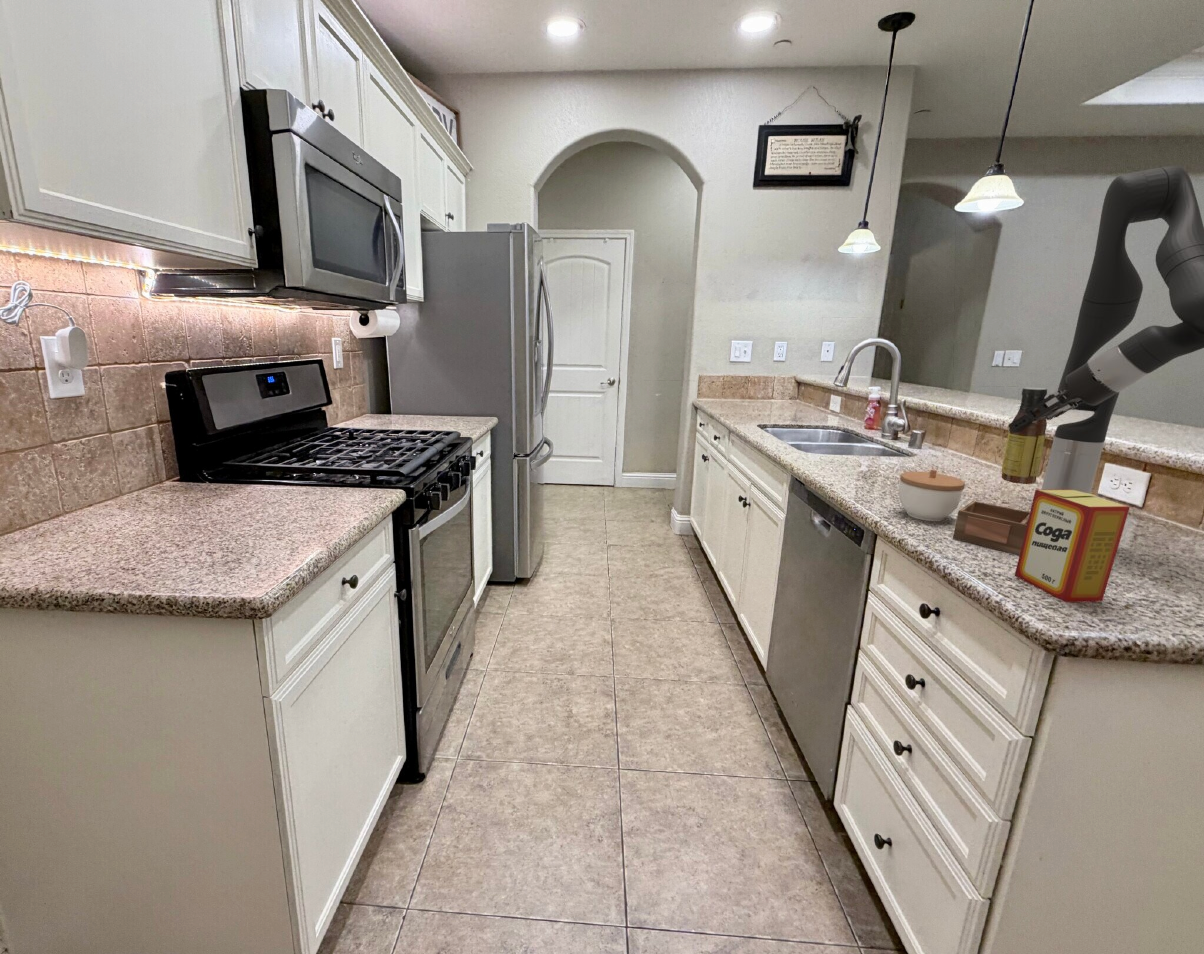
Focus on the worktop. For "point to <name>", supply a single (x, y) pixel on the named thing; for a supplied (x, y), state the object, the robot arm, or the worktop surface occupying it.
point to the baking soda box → (1071, 544)
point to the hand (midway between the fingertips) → (1018, 427)
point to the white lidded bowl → (929, 494)
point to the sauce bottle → (1025, 442)
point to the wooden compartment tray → (992, 526)
